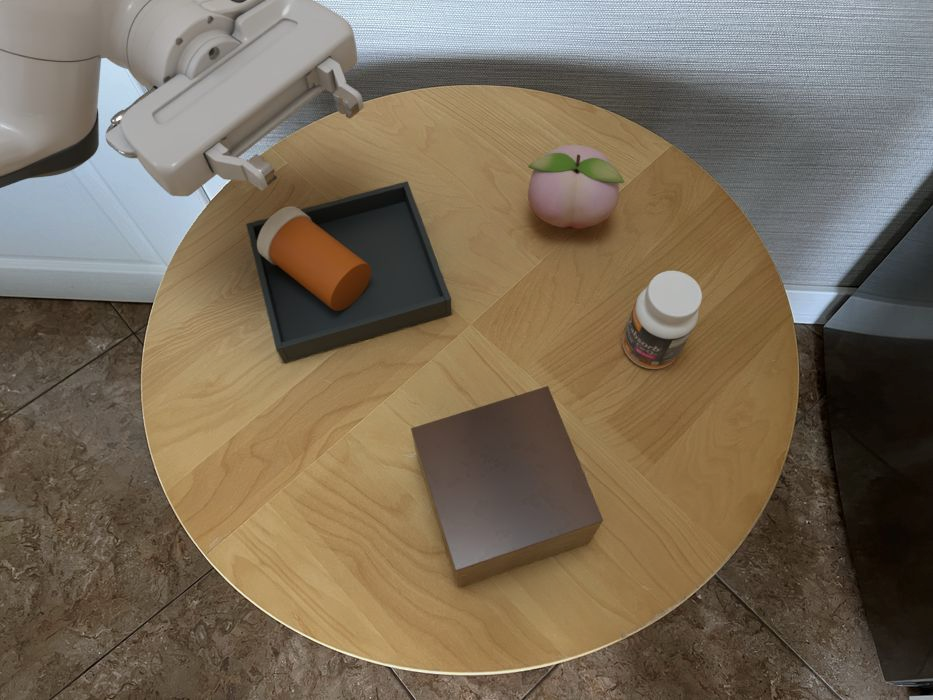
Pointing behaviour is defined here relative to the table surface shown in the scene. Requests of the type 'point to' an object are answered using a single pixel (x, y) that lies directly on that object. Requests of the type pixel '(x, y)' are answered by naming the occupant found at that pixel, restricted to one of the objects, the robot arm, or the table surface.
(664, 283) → the pill bottle
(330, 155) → the table surface
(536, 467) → the walnut block
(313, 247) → the amber pill bottle
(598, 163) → the decorative fruit
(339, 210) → the slate tray
